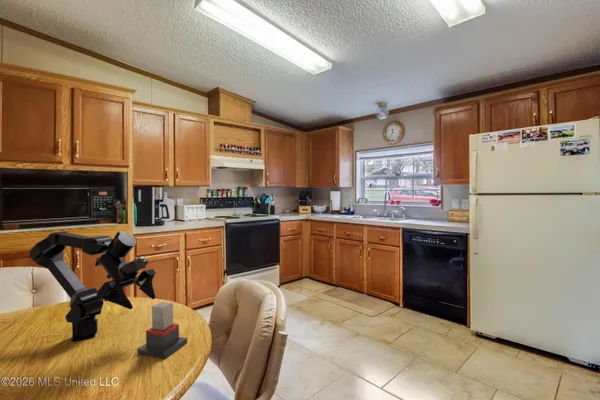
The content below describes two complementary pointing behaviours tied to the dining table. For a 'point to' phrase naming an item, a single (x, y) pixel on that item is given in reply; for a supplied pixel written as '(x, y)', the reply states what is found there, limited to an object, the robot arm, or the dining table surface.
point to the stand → (162, 342)
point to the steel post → (162, 316)
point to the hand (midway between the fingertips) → (143, 303)
